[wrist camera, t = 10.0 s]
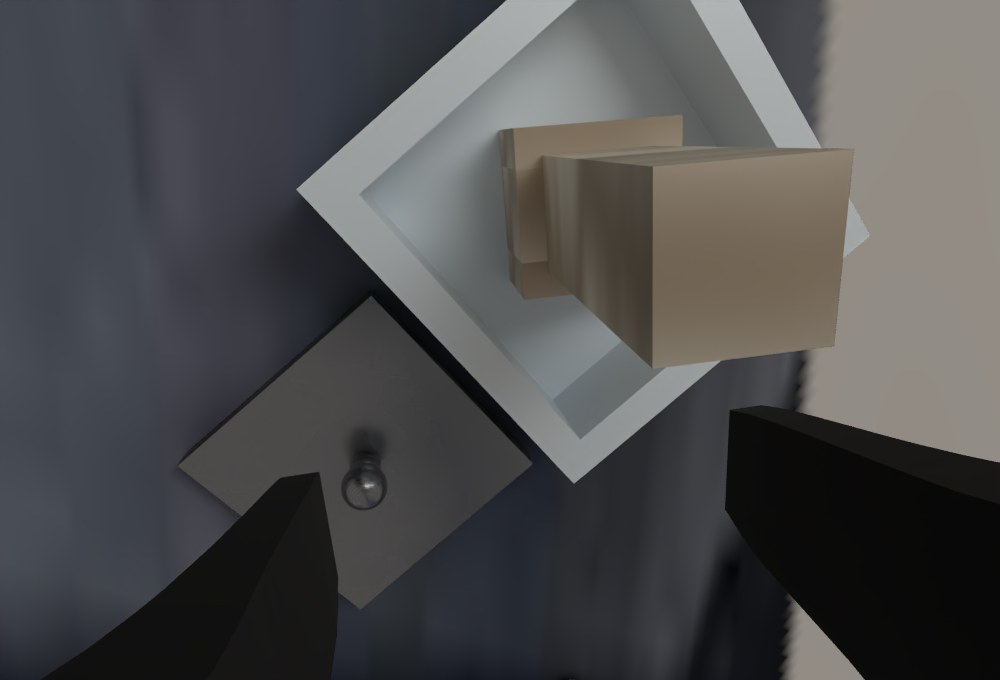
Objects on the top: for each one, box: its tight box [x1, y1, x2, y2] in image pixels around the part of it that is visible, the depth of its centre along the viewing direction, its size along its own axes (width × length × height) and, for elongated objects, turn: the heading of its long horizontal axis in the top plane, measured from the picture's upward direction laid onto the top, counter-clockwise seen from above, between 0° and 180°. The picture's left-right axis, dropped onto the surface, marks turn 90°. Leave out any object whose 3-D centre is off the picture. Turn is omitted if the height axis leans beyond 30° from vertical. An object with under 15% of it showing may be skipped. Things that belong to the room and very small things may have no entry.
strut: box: [499, 115, 854, 369], centre depth 14 cm, size 4×4×10 cm
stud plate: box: [178, 290, 533, 609], centre depth 20 cm, size 8×8×3 cm
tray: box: [296, 0, 870, 483], centre depth 18 cm, size 11×11×4 cm
